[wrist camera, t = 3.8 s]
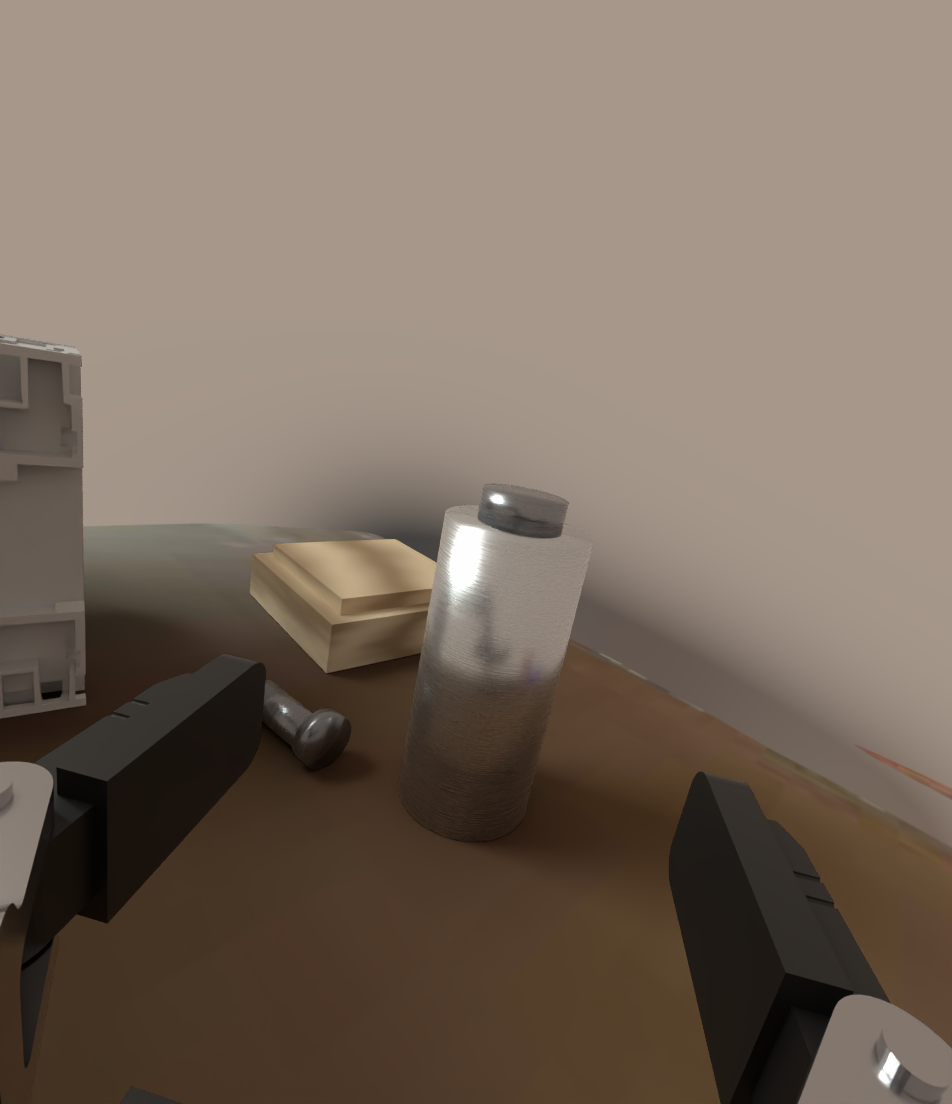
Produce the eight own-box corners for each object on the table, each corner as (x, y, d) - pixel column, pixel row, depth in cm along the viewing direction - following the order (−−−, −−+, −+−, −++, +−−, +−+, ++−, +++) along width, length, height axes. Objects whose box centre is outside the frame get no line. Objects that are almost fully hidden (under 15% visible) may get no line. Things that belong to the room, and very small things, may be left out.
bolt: (347, 756, 24) (354, 709, 24) (300, 778, 23) (306, 728, 22) (281, 701, 27) (286, 659, 27) (235, 717, 25) (239, 672, 25)
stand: (326, 673, 31) (334, 607, 30) (249, 593, 39) (253, 539, 38) (482, 639, 39) (493, 587, 38) (391, 579, 47) (398, 535, 46)
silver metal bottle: (452, 864, 20) (528, 515, 16) (373, 771, 24) (420, 473, 20) (552, 808, 24) (631, 514, 20) (470, 736, 27) (523, 479, 24)
